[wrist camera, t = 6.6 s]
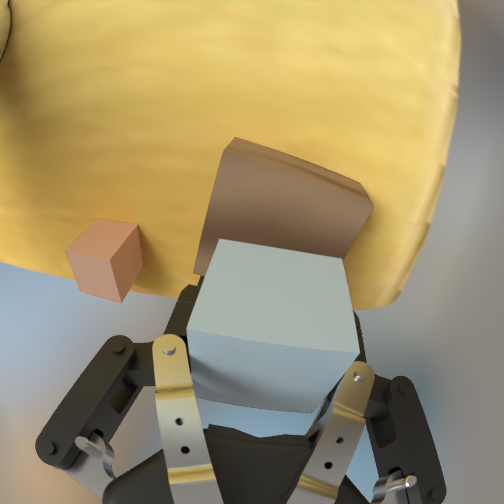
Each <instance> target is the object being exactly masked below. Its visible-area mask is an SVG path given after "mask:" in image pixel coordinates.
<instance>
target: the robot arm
mask: <svg viewBox="0 0 504 504" xmlns="http://www.w3.org/2000/svg"><path fill="white" fill-rule="evenodd" d="M10 22H11V14H10V9H9V7H8V0H0V59H1V57H2V54H3V52H4V49H5V46H6V42H7V39H8V35H9V30H10ZM204 278H205V276H201V277H200V279H199V282H198V285H197V286H195V285H188V286H187V287H186V288H184V289H183V290H182V291H181V294H180V296H179V298H178V301H177V303H176V305H175V308H174V310H173V313H172V315H171V317H170V320H169V322H168V325H167V327H166V330H165V332H164V334H163V335H162V336H160V337H158V338H157V339H156V340H155V341H153V342H149V343H133V342H132V341H131V340H130V339H129V338H128V337H126V336H123V335H116V336H113V337H111V338H109V339H108V340H107V341H106V342H105V344H104V345H103V346H102V348H101V349H100V350H99V352H98V353H97V354H96V355H95V357H94V358H93V359H92V361H91V362H90V363H89V365H88V366H87V367H86V369H85V370H84V371H83V373H82V374H81V375H80V377H79V378H78V379H77V381H76V382H75V383H74V385H73V386H72V388H71V389H70V391H69V392H68V393H67V395H66V396H65V397H64V399H63V400H62V402H61V403H60V405H59V406H58V407H57V409H56V410H55V412H54V413H53V415H52V416H51V418H50V419H49V421H48V422H47V424H46V425H45V427H44V428H43V430H42V432H41V433H40V435H39V436H38V438H37V439H36V444H35V448H36V452H37V454H38V456H39V458H40V459H41V460H42V461H43V462H44V463H46V464H48V465H51V466H53V467H55V468H56V469H58V470H61V471H64V472H65V473H67V474H68V475H69V476H71V477H72V478H73V479H74V480H76V481H77V482H78V483H80V484H81V485H82V486H84V487H86V488H87V489H88V490H90V491H91V492H92V493H94V494H95V495H97V496H98V497H100V498H102V504H441V503H442V502H443V501H444V499H445V496H446V485H445V481H444V477H443V473H442V469H441V465H440V462H439V458H438V455H437V451H436V448H435V445H434V442H433V438H432V435H431V432H430V429H429V426H428V423H427V420H426V417H425V414H424V411H423V408H422V406H421V403H420V400H419V398H418V395H417V392H416V390H415V387H414V385H413V383H412V382H411V380H409V379H408V378H407V377H404V376H397V377H395V378H393V379H392V380H389V379H386V378H383V377H380V376H378V375H376V374H374V371H373V369H372V368H371V367H370V366H369V365H368V364H367V362H366V357H365V350H364V344H363V338H362V333H361V329H360V322H359V318H358V317H357V315H356V313H355V312H354V310H353V314H354V320H355V325H356V331H357V337H358V343H359V350H360V353H359V355H358V356H357V357H356V359H355V360H354V362H353V363H352V364H351V366H350V367H349V368H348V370H347V371H346V372H345V374H344V375H343V376H342V377H341V379H340V380H339V381H338V382H337V384H336V385H335V386H334V387H333V389H332V390H331V391H330V392H329V394H328V395H327V396H326V397H325V398H324V401H323V403H322V405H321V407H320V409H319V411H318V413H317V415H316V418H315V420H314V422H313V424H312V425H311V427H310V429H309V430H308V431H307V433H306V434H305V436H303V435H302V436H301V435H287V434H284V435H277V436H271V437H262V438H259V437H255V436H252V435H250V434H247V433H244V432H242V431H239V430H237V429H234V428H228V427H223V426H218V425H212V424H209V427H208V429H202V425H201V421H200V417H199V412H198V407H197V403H196V398H195V393H194V389H193V385H192V380H191V375H190V374H191V364H190V356H189V347H188V339H187V329H186V328H187V325H188V323H189V320H190V317H191V314H192V311H193V308H194V306H195V303H196V300H197V297H198V295H199V292H200V289H201V286H202V284H203V281H204ZM143 386H156V391H155V399H156V407H157V414H158V421H159V428H160V434H161V440H162V445H163V449H161V450H160V451H158V452H157V453H155V454H154V455H152V456H151V457H149V458H148V459H147V460H145V461H143V462H142V463H140V464H138V465H137V466H135V467H134V468H132V469H130V470H129V471H127V472H126V473H124V474H122V475H121V476H119V477H117V478H116V477H115V476H114V474H113V471H112V463H113V460H114V451H113V448H112V447H111V445H110V444H109V442H110V440H111V439H112V437H113V435H114V434H115V432H116V430H117V429H118V427H119V425H120V424H121V422H122V420H123V419H124V417H125V416H126V414H127V412H128V411H129V409H130V407H131V406H132V404H133V402H134V401H135V399H136V397H137V396H138V394H139V393H140V391H141V390H142V388H143ZM363 416H364V417H363ZM365 423H366V426H367V430H368V433H369V438H370V442H371V445H372V450H373V453H374V458H375V462H376V466H377V470H378V475H379V480H378V481H377V482H376V484H375V486H374V489H373V494H374V496H373V499H372V501H371V503H369V502H368V501H367V499H366V498H365V497H364V496H363V495H362V494H361V493H360V491H359V490H358V489H357V488H356V486H355V485H354V484H353V483H352V482H351V480H350V479H349V478H348V477H347V476H346V474H345V473H346V471H347V469H348V467H349V464H350V462H351V460H352V457H353V454H354V452H355V450H356V447H357V445H358V442H359V439H360V437H361V434H362V431H363V428H364V426H365Z"/></svg>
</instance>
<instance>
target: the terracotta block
mask: <svg viewBox="0 0 504 504" xmlns="http://www.w3.org/2000/svg"><path fill="white" fill-rule="evenodd" d="M66 253H67V256H68V259H69V262H70V265H71V268H72V271H73V274H74V276H75V279H76V282H77V284H78V287H79V289H80V291H81V292H84V293H87V294H91V295H94V296H98V297H101V298H105V299H109V300H113V301H116V302H120V303H122V302H123V300H124V298H125V296H126V295H127V293H128V291H129V289H130V288H131V286H132V284H133V283H134V281H135V279H136V278H137V276H138V274H139V273H140V271H141V270H142V268H143V266H144V263H143V257H142V250H141V244H140V237H139V229H138V224H132V223H125V222H117V221H110V220H103V219H95V220H94V221H93V222H92V223H91V224H90V225H89V226H88V227H87V228H86V229H85V230H84V231H83V232H82V233H81V234H80V236H79V237H78V238H77V239H76V240H75V241H74V242H73V243H72V244H71V245H70V246H69V247H68V248H67V249H66Z"/></svg>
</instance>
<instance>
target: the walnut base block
mask: <svg viewBox="0 0 504 504" xmlns="http://www.w3.org/2000/svg"><path fill="white" fill-rule="evenodd" d="M373 207H374V205H373V203H372V202H371V200H370V198H369V197H368V195H367V193H366V192H365V190H364V188H363V187H362V185H361V184H360V183H359V182H357V181H355V180H352V179H350V178H348V177H345V176H343V175H341V174H338V173H336V172H333V171H331V170H328V169H326V168H323V167H321V166H318V165H316V164H313V163H311V162H308V161H305V160H303V159H300V158H297V157H294V156H292V155H289V154H286V153H283V152H280V151H277V150H275V149H272V148H269V147H266V146H262V145H259V144H256V143H253V142H250V141H247V140H243V139H240V138H237V137H235V138H234V139H233V140H232V141H231V142H230V144H229V145H228V146H227V147H226V148H225V150H224V151H223V154H222V158H221V161H220V165H219V168H218V172H217V176H216V180H215V183H214V187H213V191H212V195H211V199H210V203H209V207H208V211H207V215H206V219H205V223H204V227H203V231H202V236H201V240H200V244H199V249H198V253H197V257H196V262H195V267H194V271H193V273H195V274H198V275H201V276H206V273H207V270H208V267H209V265H210V262H211V260H212V257H213V254H214V252H215V249H216V246H217V244H218V241H219V239H224V240H231V241H237V242H243V243H250V244H256V245H262V246H268V247H274V248H280V249H286V250H293V251H299V252H305V253H311V254H317V255H323V256H329V257H335V258H341V259H342V261H343V259H344V257H345V256H346V254H347V252H348V251H349V249H350V247H351V246H352V244H353V242H354V241H355V239H356V237H357V236H358V234H359V232H360V230H361V229H362V227H363V225H364V223H365V222H366V220H367V218H368V216H369V215H370V213H371V211H372V209H373Z"/></svg>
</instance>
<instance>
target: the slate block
mask: <svg viewBox="0 0 504 504" xmlns="http://www.w3.org/2000/svg"><path fill="white" fill-rule="evenodd" d="M186 329H187V339H188V347H189V356H190V364H191V371H192V379H193V386H194V393H195V397H196V398H200V399H205V400H210V401H215V402H220V403H226V404H232V405H238V406H244V407H251V408H258V409H267V410H276V411H286V412H299V413H312V412H313V411H314V410H315V409H316V408H317V407H318V405H319V404H320V403H321V402H322V401H323V400H324V398H325V397H326V396H327V395H328V394H329V392H330V391H331V390H332V389H333V387H334V386H335V385H336V384H337V382H338V381H339V380H340V379H341V377H342V376H343V375H344V374H345V372H346V371H347V370H348V368H349V367H350V366H351V364H352V363H353V362H354V360H355V359H356V357H357V356H358V355H359V353H360V350H359V343H358V337H357V331H356V325H355V320H354V314H353V309H352V304H351V299H350V294H349V289H348V284H347V279H346V275H345V270H344V266H343V262H342V259H341V258H335V257H329V256H323V255H317V254H311V253H305V252H299V251H293V250H286V249H280V248H274V247H268V246H262V245H256V244H250V243H243V242H237V241H231V240H224V239H219V241H218V244H217V246H216V249H215V252H214V254H213V257H212V260H211V262H210V265H209V267H208V270H207V273H206V276H205V278H204V281H203V284H202V286H201V289H200V292H199V295H198V297H197V300H196V303H195V306H194V308H193V311H192V314H191V317H190V320H189V323H188V325H187V328H186Z"/></svg>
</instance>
